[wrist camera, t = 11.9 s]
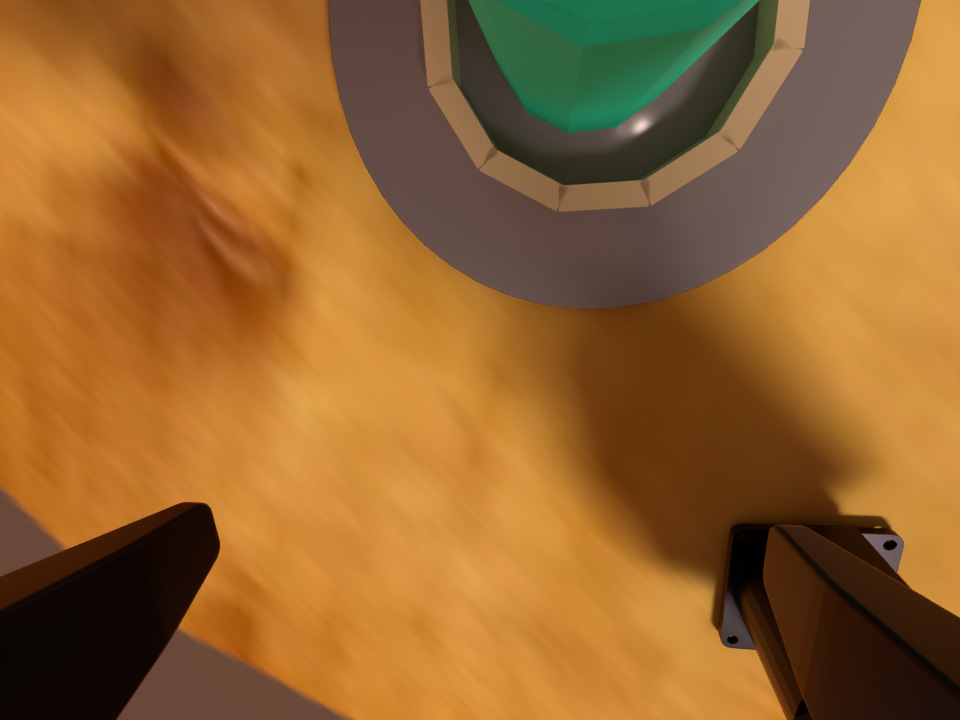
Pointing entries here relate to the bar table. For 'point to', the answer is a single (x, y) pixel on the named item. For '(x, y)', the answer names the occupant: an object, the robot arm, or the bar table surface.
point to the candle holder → (613, 146)
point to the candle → (598, 52)
